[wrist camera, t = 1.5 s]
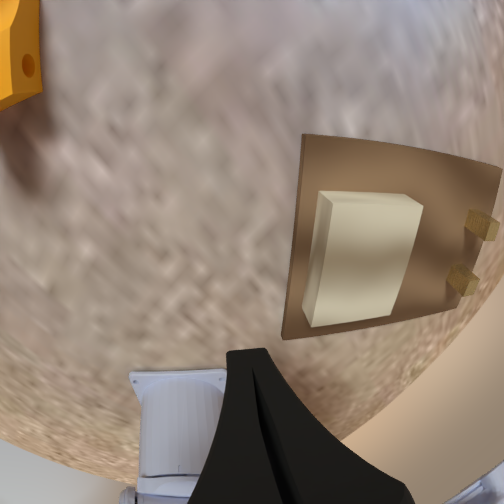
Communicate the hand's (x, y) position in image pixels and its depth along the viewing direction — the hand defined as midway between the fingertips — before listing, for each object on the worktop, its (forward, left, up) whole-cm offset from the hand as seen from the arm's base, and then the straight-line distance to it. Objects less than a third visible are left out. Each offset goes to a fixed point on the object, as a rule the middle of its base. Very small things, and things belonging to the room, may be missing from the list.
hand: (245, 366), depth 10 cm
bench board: (0, -13, -8) cm, 15 cm away
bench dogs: (0, -19, -8) cm, 21 cm away
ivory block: (0, -8, -8) cm, 11 cm away
